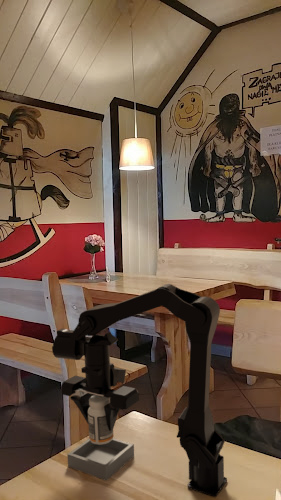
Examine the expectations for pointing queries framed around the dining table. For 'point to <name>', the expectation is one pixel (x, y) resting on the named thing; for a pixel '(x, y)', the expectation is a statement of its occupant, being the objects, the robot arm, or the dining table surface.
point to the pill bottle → (98, 421)
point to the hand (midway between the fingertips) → (100, 427)
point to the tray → (101, 457)
